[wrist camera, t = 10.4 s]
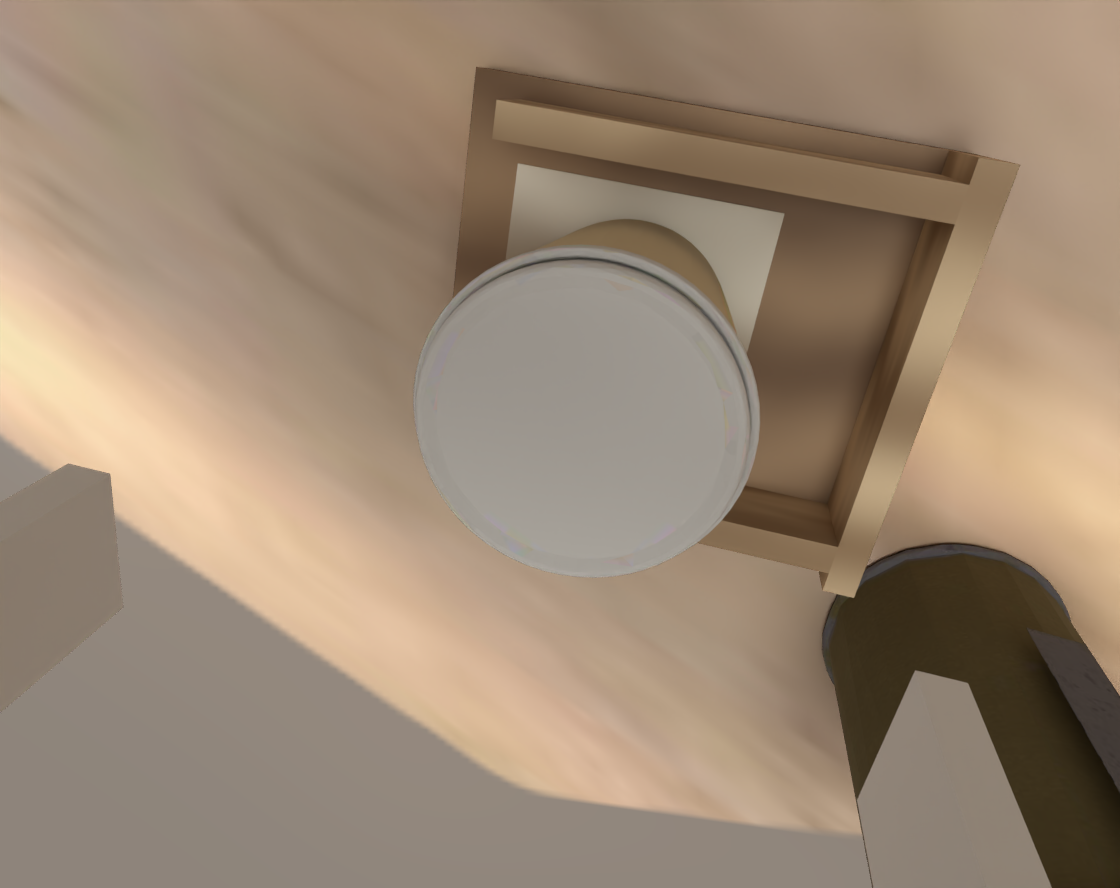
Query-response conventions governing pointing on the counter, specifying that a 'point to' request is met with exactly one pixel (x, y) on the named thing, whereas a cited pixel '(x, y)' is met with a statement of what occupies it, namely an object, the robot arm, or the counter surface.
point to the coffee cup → (590, 402)
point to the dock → (764, 275)
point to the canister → (990, 690)
